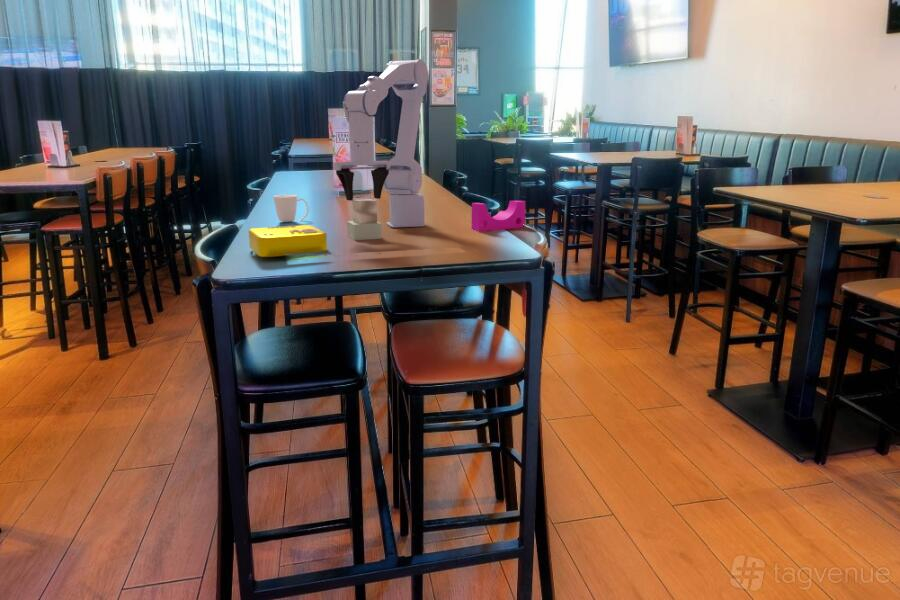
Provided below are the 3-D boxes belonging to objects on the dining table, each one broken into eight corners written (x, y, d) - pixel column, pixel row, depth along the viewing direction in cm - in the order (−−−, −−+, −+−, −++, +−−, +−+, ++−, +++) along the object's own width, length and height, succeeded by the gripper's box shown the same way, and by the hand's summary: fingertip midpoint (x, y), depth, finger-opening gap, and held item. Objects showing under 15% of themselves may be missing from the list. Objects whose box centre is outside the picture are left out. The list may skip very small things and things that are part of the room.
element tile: (312, 242, 148) (311, 222, 147) (329, 252, 135) (328, 231, 134) (248, 247, 142) (246, 226, 140) (260, 258, 129) (258, 235, 127)
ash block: (369, 220, 156) (368, 198, 154) (377, 222, 152) (376, 200, 150) (353, 221, 153) (352, 199, 152) (360, 223, 150) (359, 201, 148)
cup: (271, 223, 177) (269, 195, 174) (304, 221, 182) (303, 193, 180) (279, 226, 171) (277, 197, 169) (313, 223, 176) (311, 195, 174)
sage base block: (374, 235, 158) (374, 219, 157) (381, 239, 152) (381, 223, 151) (347, 236, 156) (347, 221, 154) (354, 241, 149) (353, 224, 148)
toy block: (511, 226, 175) (512, 199, 173) (524, 228, 169) (525, 201, 167) (466, 229, 168) (466, 202, 166) (478, 232, 162) (479, 204, 160)
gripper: (379, 142, 155) (381, 196, 158) (327, 142, 147) (329, 199, 150) (394, 142, 149) (395, 198, 153) (339, 143, 141) (342, 202, 145)
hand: (363, 199), depth 151 cm, fingers open, 7 cm apart
